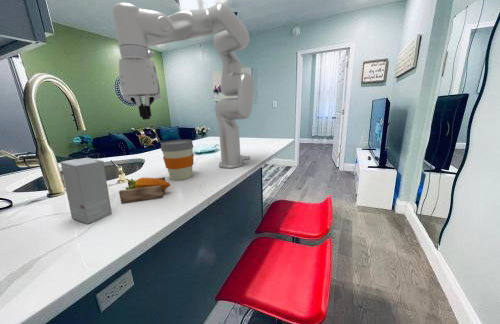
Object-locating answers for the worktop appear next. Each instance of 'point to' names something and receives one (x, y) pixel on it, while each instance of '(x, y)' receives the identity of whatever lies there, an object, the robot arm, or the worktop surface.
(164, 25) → the robot arm
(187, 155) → the reusable coffee cup
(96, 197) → the skincare box
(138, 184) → the carrot
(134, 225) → the worktop surface
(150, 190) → the walnut U-rest
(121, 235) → the worktop surface
